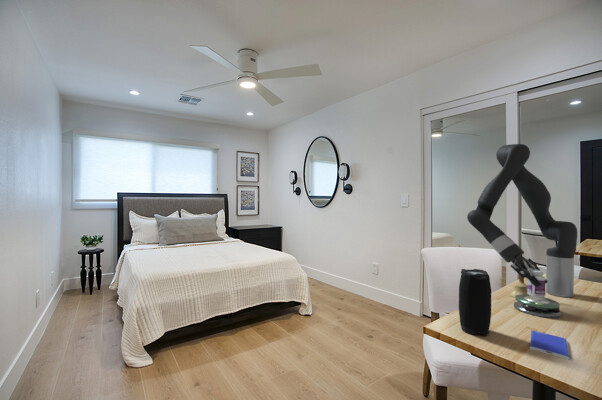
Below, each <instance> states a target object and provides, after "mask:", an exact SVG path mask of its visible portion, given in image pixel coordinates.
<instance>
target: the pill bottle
mask: <svg viewBox="0 0 602 400" xmlns="http://www.w3.org/2000/svg"><path fill="white" fill-rule="evenodd" d="M540 270H541V269H540ZM540 270H530V272H531V273H532V274H533V276H535V277H536V278H537V279H538V281H539V282H540V283H541V284H542V285H540V286H538V287H535V286H534V285H533V284H532V283H531V282H530V281H529V279H527V282H526V283H527V284H526V285H527V293H528V294H529V295H531V296H534V297H540V298H542V297H545V298H546V284H545V281H546V280H545V279H546V277H544V276H543V275H544V271H543V270H541V271H540Z"/></svg>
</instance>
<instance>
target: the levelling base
mask: <svg viewBox="0 0 602 400" xmlns="http://www.w3.org/2000/svg"><path fill="white" fill-rule="evenodd" d="M513 307H514V309H516V310H517V311H519V312H521V313H524V314H526V315H531V316H534V317H539V318H546V319H558V318H562V311H561V310H560V309H561V308H560V303H559V302H558V301H556V300H554V299H551V298H547V297H546V296H545V297H542V298H540V297H534V296H531V295H526V294H520V295H516V298H515V302H514V303H513Z"/></svg>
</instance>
